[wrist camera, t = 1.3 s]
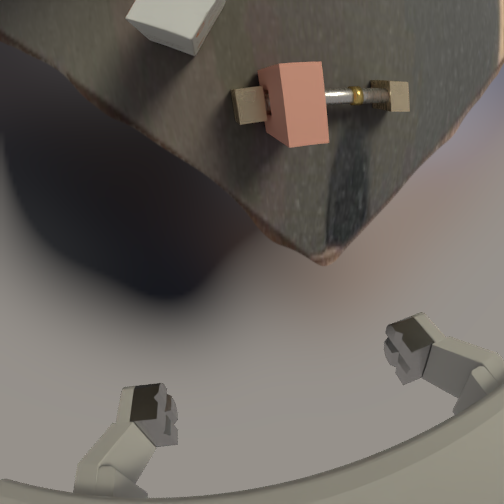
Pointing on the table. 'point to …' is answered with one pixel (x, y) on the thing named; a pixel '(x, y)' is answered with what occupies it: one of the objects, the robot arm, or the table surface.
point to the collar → (296, 103)
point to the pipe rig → (380, 95)
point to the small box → (175, 21)
